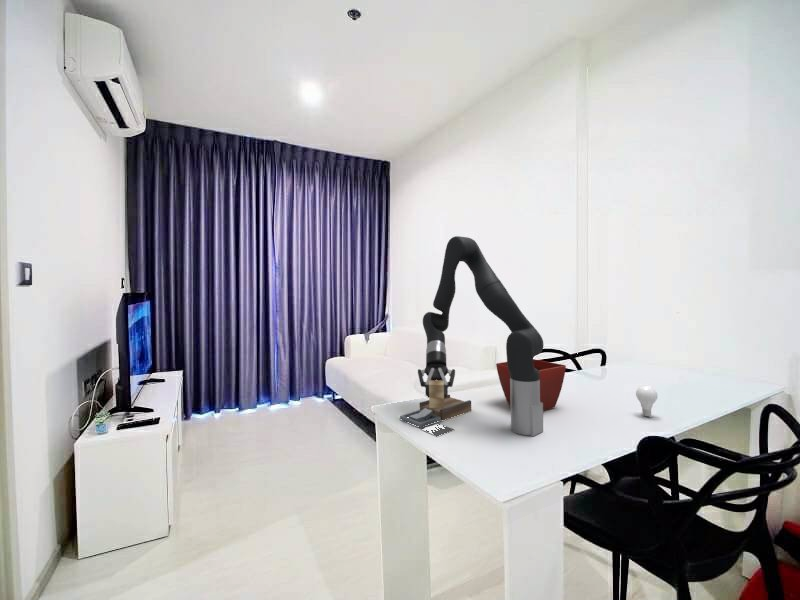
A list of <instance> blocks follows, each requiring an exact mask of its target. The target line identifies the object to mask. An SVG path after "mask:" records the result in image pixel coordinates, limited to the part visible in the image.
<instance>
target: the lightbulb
mask: <svg viewBox="0 0 800 600" xmlns="http://www.w3.org/2000/svg"><path fill="white" fill-rule="evenodd" d="M635 396H636V398H637V400H638V401H639V403H640V406H641V409H642V410H641V411H642V412H641V413H642V415H643V416H644V417H646V418H648V417H651V416H652V409H653V405H654V404H655V403H656V401H657V400H658V392H657V391H656V389H655V388H653V387H651V386H650V385H641V386H639V387H638V388H637V389H636V391H635Z"/></svg>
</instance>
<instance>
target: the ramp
mask: <svg viewBox="0 0 800 600" xmlns="http://www.w3.org/2000/svg"><path fill="white" fill-rule="evenodd" d="M424 408H427V409H429V410H432V411H433V414H434V415H437V416H440V417H441V420H445V419H447V418H450V419H452V418H451V417H453V418H455V417H454V416H456V417H458V416H457V415H459V416H461V415H460V414H462V415H464V414H467V413H470V412H472V400H470V399H469V400H465V401H464V400H461V399H457V398H454V397H451V394H449V393H448V395H447V396H446V398H444V408H429V399H428V400H424V401H421V402H419V410H423V409H424ZM469 411H470V412H469ZM466 412H467V413H466ZM463 413H464V414H463ZM447 420H448V419H447ZM445 421H446V420H445Z"/></svg>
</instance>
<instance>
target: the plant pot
mask: <svg viewBox="0 0 800 600" xmlns="http://www.w3.org/2000/svg"><path fill="white" fill-rule="evenodd" d="M533 365H534V368H535V369H537V370H538V371H539V373H540V402H542V403H543V411H546V410H551V409H554V408H555V407H556V406H557V402H558V401H559V397H560V394H561V391H562V389H563V388H562V387H563V385H564V379H565V374H566V368H567V366H566V364H561V363H556V362H550V361H545V360H541V359H535V358H533ZM495 367H496V371H497V376H498V379H499V383H500V386H501V388H502V391H503V394H504V397H505V399H506V401H507V404H508V405H509V406H510V407H511V398H510V372H509V370H508V366H507V361H502V362H497V363H496V364H495Z"/></svg>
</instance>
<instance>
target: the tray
mask: <svg viewBox="0 0 800 600" xmlns="http://www.w3.org/2000/svg"><path fill="white" fill-rule="evenodd" d="M421 411H422V410H420V409H418V410H415V411H412V412H408V413H406V414H405V413H404V414H402V415H399V420H400V419H402V420H404V421H406V422H409V423H411V424H414V425H416V426H419V427H423V426H425V425H428V424H431V423H434V422H437V421H440V420H441V417H440V416H437V415H434V414H433V415H432V416H431V417H429V418H428V419H427V420H424V421H421V422H417V421H415V420H412V419H410V418H407V417H409V416H411V415H414V414H418V413H419V412H421ZM404 421H403V422H404ZM406 422H405V423H406ZM440 422H441V421H440ZM409 423H408V424H409ZM437 423H438V422H437ZM411 424H410V425H411ZM434 424H435V423H434ZM414 425H413V426H414ZM431 425H432V424H431ZM416 426H415V427H416ZM428 426H429V425H428ZM423 428H424V427H423Z"/></svg>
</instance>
